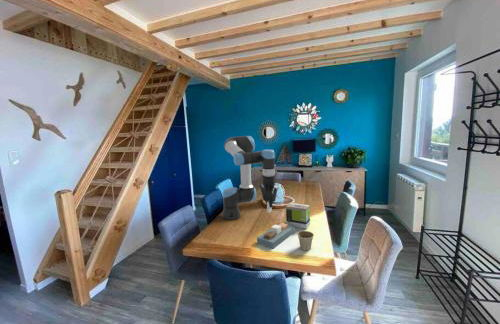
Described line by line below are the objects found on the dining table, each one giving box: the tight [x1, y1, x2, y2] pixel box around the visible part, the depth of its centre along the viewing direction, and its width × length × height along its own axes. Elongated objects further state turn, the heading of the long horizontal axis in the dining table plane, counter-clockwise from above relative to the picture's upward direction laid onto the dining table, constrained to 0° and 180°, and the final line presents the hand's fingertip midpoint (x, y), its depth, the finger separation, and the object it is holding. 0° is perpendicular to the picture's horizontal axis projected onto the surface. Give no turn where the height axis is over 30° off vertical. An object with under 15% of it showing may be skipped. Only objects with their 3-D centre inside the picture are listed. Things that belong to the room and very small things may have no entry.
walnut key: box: [264, 230, 275, 240], centre depth 147 cm, size 5×5×4 cm
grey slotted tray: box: [256, 222, 295, 250], centre depth 154 cm, size 12×26×4 cm, turn 141°
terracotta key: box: [278, 222, 288, 230], centre depth 160 cm, size 5×5×4 cm
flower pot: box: [297, 230, 315, 251], centre depth 139 cm, size 9×9×9 cm
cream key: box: [270, 224, 282, 235], centre depth 153 cm, size 5×5×4 cm
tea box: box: [285, 202, 311, 230], centre depth 172 cm, size 15×10×15 cm, turn 59°
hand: (269, 211), depth 148 cm, fingers closed
